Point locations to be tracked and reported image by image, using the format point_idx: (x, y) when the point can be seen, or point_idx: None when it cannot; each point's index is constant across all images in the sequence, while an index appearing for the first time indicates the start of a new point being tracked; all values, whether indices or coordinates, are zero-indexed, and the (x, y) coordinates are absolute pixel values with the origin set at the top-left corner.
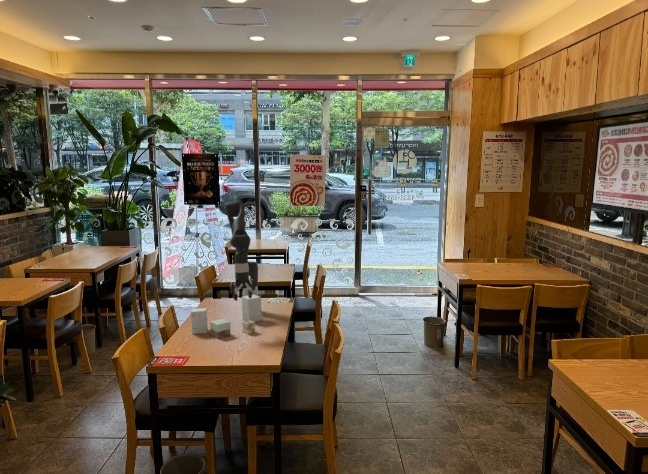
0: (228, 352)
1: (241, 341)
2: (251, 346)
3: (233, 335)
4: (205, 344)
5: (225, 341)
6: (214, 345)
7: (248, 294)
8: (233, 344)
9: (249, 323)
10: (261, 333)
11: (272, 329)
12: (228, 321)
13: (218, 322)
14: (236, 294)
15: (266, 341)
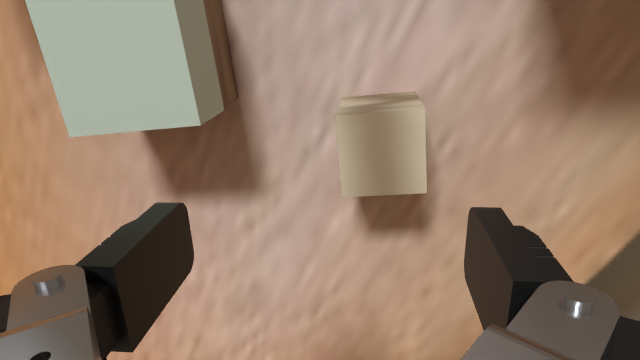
0: (143, 347)
1: (258, 256)
2: (276, 354)
3: (255, 117)
4: (46, 163)
5: (171, 193)
6: (95, 214)
7: (488, 239)
8: (199, 269)
9: (370, 193)
10: (442, 209)
11: (564, 184)
12: (187, 106)
13: (92, 72)
14: (116, 350)
15: (384, 346)
